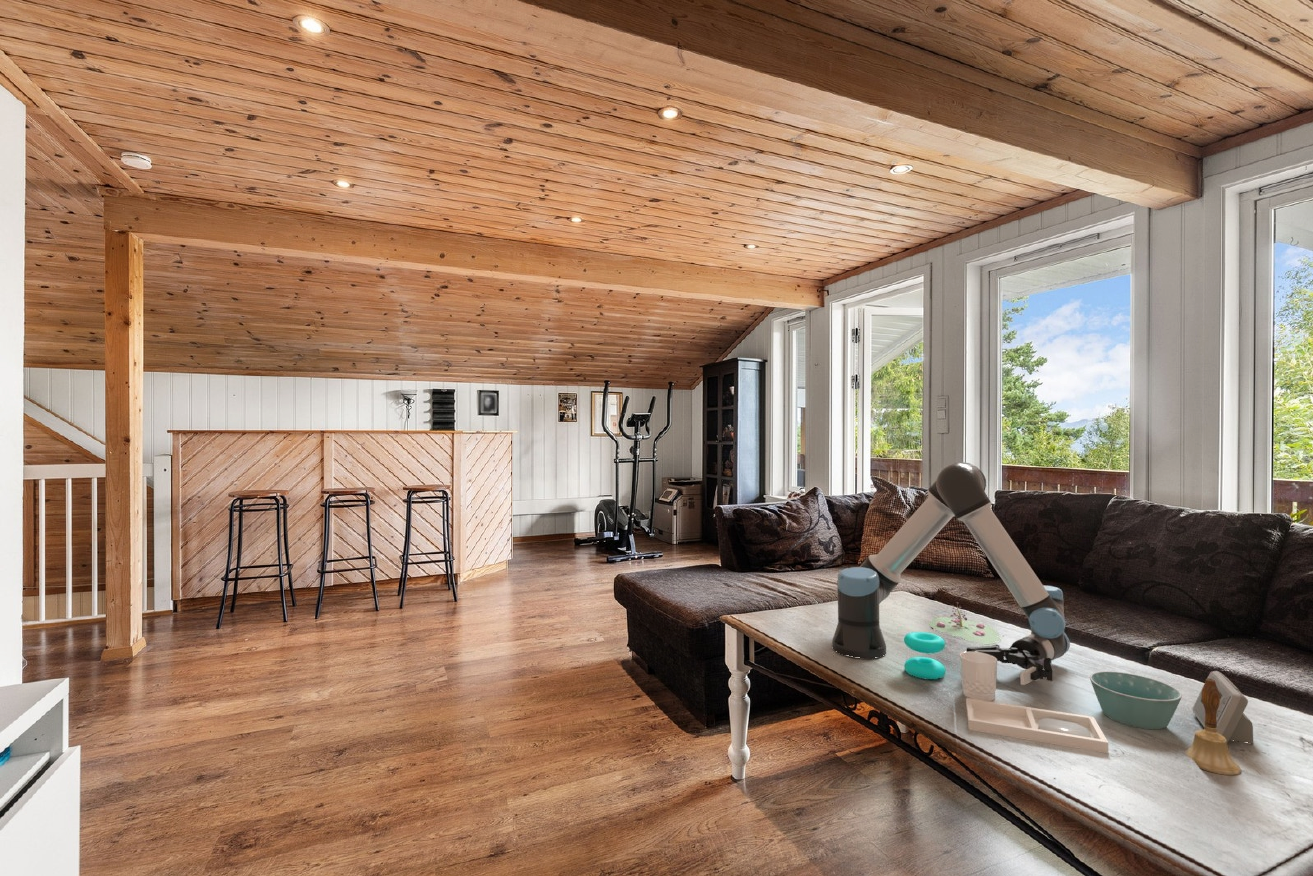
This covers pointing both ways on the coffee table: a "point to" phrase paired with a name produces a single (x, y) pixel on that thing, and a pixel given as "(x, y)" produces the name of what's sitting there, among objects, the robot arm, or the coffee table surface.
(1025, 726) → the tray
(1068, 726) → the grey flat disc
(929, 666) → the donuts
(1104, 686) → the bowl
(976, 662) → the white cup
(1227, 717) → the digital clock
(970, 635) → the plant
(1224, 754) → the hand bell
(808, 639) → the coffee table surface
